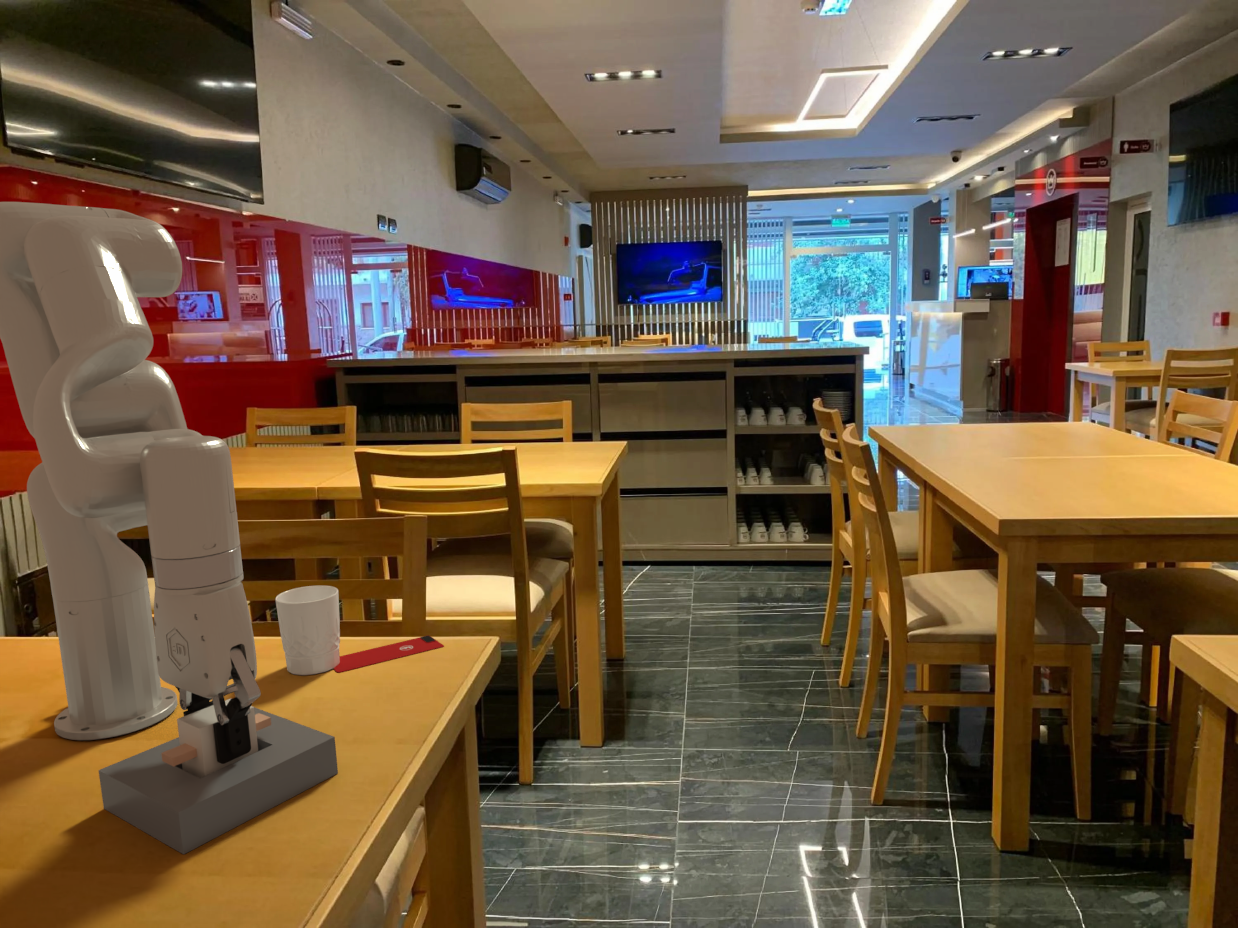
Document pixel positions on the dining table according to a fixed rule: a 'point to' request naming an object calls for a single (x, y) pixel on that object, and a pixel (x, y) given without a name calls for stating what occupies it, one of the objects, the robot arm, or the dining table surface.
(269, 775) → the block
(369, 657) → the electronic device
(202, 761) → the block
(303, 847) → the dining table surface
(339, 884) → the dining table surface
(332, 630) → the white cup
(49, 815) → the dining table surface
